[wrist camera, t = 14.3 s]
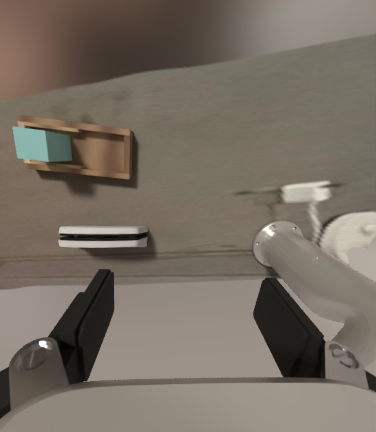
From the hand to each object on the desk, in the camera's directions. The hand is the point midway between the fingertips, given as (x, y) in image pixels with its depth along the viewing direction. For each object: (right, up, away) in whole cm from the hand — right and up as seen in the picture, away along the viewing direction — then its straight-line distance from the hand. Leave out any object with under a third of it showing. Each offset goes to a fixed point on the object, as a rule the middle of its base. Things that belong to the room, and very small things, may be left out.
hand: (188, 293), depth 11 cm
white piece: (-18, +1, +31) cm, 35 cm away
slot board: (-21, +18, +24) cm, 37 cm away
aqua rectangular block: (-25, +18, +23) cm, 38 cm away
